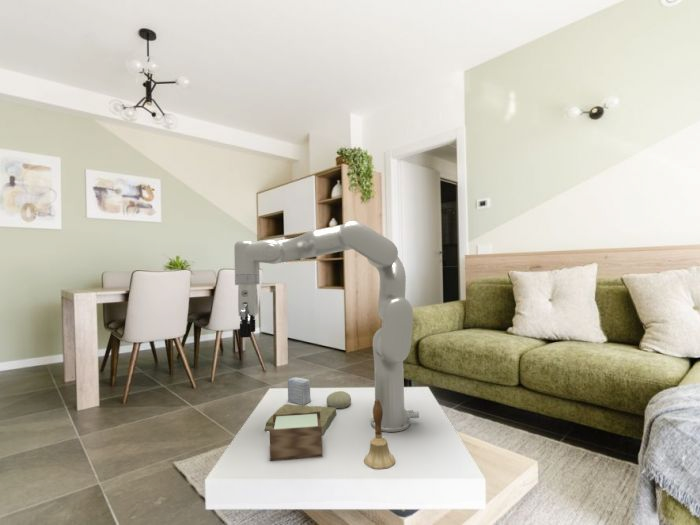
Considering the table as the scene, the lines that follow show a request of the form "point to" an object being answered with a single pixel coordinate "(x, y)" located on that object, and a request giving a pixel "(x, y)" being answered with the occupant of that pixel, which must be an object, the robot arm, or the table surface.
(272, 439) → the box
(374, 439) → the hand bell
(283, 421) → the cover plate
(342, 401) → the sea urchin shell
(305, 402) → the medicine box
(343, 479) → the table surface
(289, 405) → the decorative tile
